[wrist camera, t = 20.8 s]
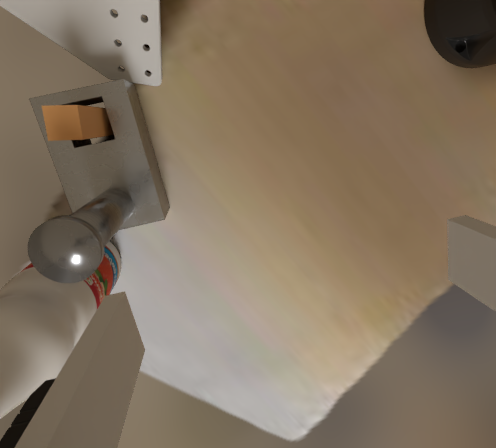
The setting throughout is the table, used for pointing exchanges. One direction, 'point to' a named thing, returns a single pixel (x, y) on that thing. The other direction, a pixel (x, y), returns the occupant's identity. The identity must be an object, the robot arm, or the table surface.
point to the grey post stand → (98, 184)
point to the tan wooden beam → (76, 122)
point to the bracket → (101, 33)
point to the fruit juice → (45, 325)
